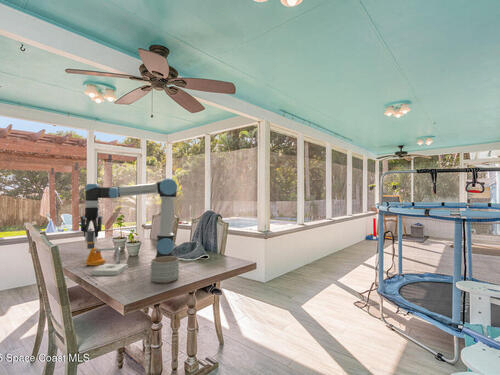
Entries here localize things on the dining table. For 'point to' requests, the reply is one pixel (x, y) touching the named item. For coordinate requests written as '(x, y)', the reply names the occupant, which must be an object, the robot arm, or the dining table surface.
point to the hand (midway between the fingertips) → (90, 241)
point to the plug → (90, 239)
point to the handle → (116, 253)
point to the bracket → (94, 258)
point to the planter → (164, 269)
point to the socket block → (110, 269)
